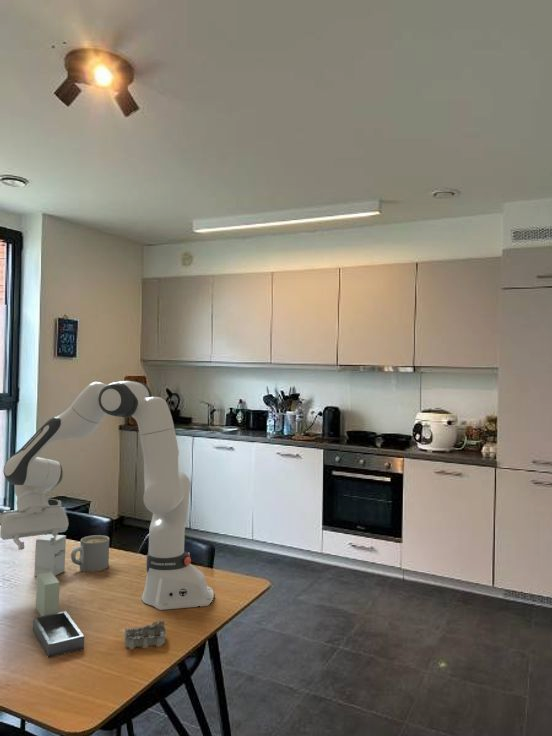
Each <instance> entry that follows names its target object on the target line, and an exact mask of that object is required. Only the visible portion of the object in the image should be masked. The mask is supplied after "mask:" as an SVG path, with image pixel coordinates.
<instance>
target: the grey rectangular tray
mask: <svg viewBox="0 0 552 736" xmlns="http://www.w3.org/2000/svg"><path fill="white" fill-rule="evenodd" d="M32 632H33V633H34V635H35V637H36V638H37V641H38V642H39V645H40V646H41V648H42V647H43V648H42V650H43V649H44V650H43V651H44V653H45V655H46V657H47V656H48V657H47V658H48V659H50V657H51V658H53V657H54V658H55V657H58V656H61V654H62V655H65V654H64V653H66V654H69V653H68V652H70V653H73V651H74V652H77V651H76V650H78V651H82V650H84V649H85V635H84V634H83V632H82V631H81V629H80V628H79V627H78V625H77V624H76V622H75V621H74V620H73V619H72V617H71V616H70V614H69V613H68V612H67V611H66V610H65V611H59V612H58V613H54V614H49V615H45V616H41V615H40V616H36V617H33V618H32ZM81 649H82V650H81ZM57 655H58V656H57Z"/></svg>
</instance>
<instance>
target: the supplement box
mask: <svg viewBox="0 0 552 736" xmlns="http://www.w3.org/2000/svg"><path fill="white" fill-rule="evenodd" d="M51 538H54V536H53V535H52V534H45V535H42V536H41V537H39V538H36V539H35V549H34V550H35V554H34V576H36V577H37V574H40V573H46V572H52V573H53V575H54V576H55V577H56V576H57V575H59V574H61V573H64V572H65V570H66V569H65V566H66V546H67V545H66V543H67V535H64V534H57V537H56V545H50V539H51Z"/></svg>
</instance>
